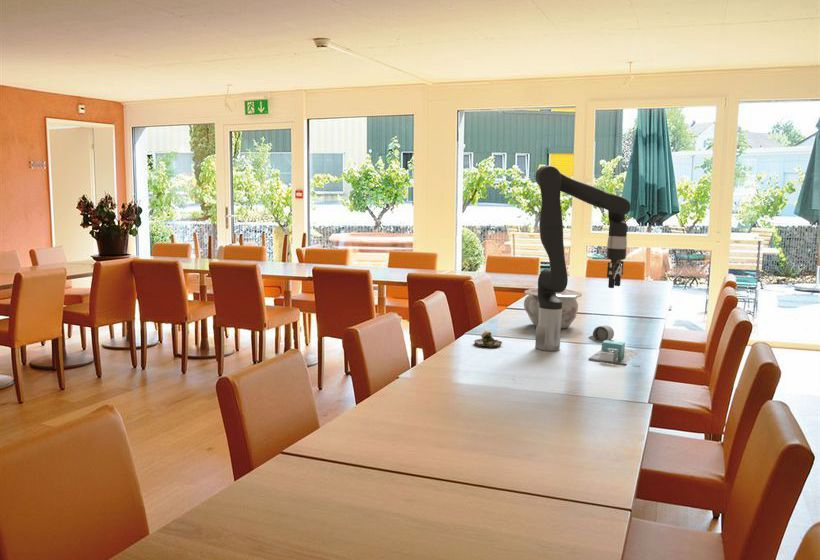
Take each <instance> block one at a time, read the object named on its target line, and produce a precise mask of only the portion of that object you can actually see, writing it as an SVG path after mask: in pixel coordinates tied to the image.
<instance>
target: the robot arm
mask: <svg viewBox="0 0 820 560" xmlns="http://www.w3.org/2000/svg"><path fill="white" fill-rule="evenodd" d="M534 179H535V183H536V184H537V185H538V186H539V189H540V194H541V195H540V197H541V209H540V214H539V237H540V241H541V244H542V246H543V249H544V250H545V252H546V254H547V257H548V260H549V267H550V268H545V269H542V270H541V272H539V274H538V275H539V276H538V279H537V288H538V301H539V322H538V325H537V326H536V325H535V327H536V328H535V329H536V330H535V345H534V347H535V348H536V349H538V350H542V351H544V352H545V351H550V352H551V351H552V352H555V351H560V350H561V348H560V347H561V331H562V329H561V317H562V302H561V301H560V300H559V299H558V298H557V296H556V293H561V292H563V291H564V290H565V289H567V286H568V282H569V281H568V279H569V278H568V272H567V271H568V270H567V264H566V259H565V257H566V255H565V246H564V245H565V244H564V225H563V223H564V222H563V214H562V206H561V193H564V194H567V195H569V196H572V197H574V198H575V199H577V200H580V201H582V202H584V203H586V204H587V205H588V204H589V205H591V206H594V207H597V208H599V209H604V210H606V211H607V213H608V214H607V216H608V223H609V225H608V236H607V237H608V238H607V242H606V245H607V246H606V259H607V260H610V261H609V262H607V268H606V269H607V271H606V278H608V284H607V285H608V286H607V288H608V289H614V288H615V287H620V286H621V281H622V280H621V278H622V276H623V274H624V260H626V258H627V247H628V239H627V238H628V237H627V236H628V235H627V233H628V225H627V224H628V223H627V222H626V215H628V213H629V212H630V210H631V207H632V206H631V202H630V200H628V199H627V198H625V197H623V196H619V195H618V194H617V195H616V194H613V193H610V192H608V191H606V190H604V189H601V188H599V187H596V186H594V185H591V184H588V183H585V182H582V181H579V180H576V179H573V178H571V177H568V176H566V175H564V174H563V173H562V172H560V170H559V169H558V168H557V167H555V166H553V165H543V166H541V167H540V168H538V169H537V170H536V172H535V177H534Z"/></svg>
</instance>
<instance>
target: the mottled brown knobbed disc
mask: <svg viewBox="0 0 820 560" xmlns="http://www.w3.org/2000/svg"><path fill="white" fill-rule="evenodd" d="M473 341H474V343H473V346H475V347H477V348H482V347H489V348H491V347H498V346H500V345H502V344H503V341H502V340H501V341H500V340H498V339H495V338H494V337H493V336H492V332H491V331H486V330H485V331H484V332H483V333H482V334H481V338H479V339H475V340H473Z"/></svg>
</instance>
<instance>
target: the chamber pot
mask: <svg viewBox="0 0 820 560" xmlns="http://www.w3.org/2000/svg"><path fill="white" fill-rule="evenodd" d="M524 294H526V295H527V296H526V297H525V298H524V300H523V301H524V302H523V308H524V311H525V312H526V314H527V316H528V318H529V319H530V322H531V323H532V324H533V325H534V326H535V327H536V326H537V325H538V322H539V301H538V287H535V288H529V289H526V290H524ZM582 295H583V294H582V293H581V292H578V291H575V290H571V289H567V288H566V289H565V290H564V291H563V292H561V293H556V296H557V298H558V299H559V300H560V301H561V302H562V317H561V330H563V329H567V328H568V327H570V326H571V325H572V323H573V322H574V321H575V319H576V318H577V314H578V312H579V303H578V301H577V298H579V297H582Z"/></svg>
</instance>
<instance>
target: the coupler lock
mask: <svg viewBox="0 0 820 560" xmlns="http://www.w3.org/2000/svg"><path fill="white" fill-rule="evenodd" d="M625 345H626V342H622V341H615V340H605V341H603V340H602V342H601V350H602V351H601V350H600V351H601V352H605V351H606V350H608V348H611V349H618V360H621V359H623V358H624V350H625V349H626V348H625Z"/></svg>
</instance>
